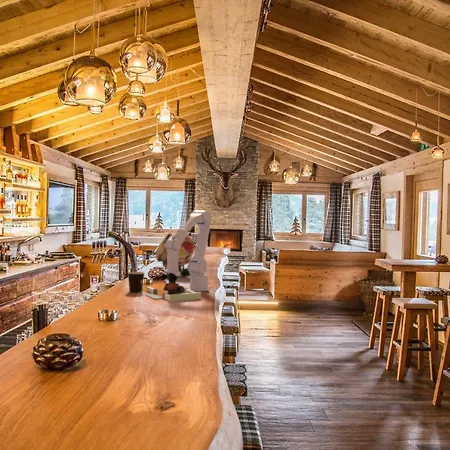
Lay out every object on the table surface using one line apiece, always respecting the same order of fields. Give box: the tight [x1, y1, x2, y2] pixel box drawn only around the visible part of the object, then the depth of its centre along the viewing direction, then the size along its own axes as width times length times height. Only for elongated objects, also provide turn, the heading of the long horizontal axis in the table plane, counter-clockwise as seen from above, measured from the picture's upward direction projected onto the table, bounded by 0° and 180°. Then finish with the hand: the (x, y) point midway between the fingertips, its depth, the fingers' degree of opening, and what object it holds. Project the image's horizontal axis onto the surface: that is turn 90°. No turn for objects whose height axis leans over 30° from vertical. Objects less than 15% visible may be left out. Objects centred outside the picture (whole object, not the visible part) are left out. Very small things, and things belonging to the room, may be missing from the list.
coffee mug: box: [127, 271, 145, 294], centre depth 237 cm, size 12×9×10 cm
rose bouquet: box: [154, 234, 197, 279], centre depth 297 cm, size 26×29×30 cm
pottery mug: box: [162, 282, 185, 295], centre depth 224 cm, size 12×10×8 cm
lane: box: [145, 286, 202, 303], centre depth 229 cm, size 24×31×3 cm
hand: (172, 288), depth 230 cm, fingers closed, pressing on pottery mug
